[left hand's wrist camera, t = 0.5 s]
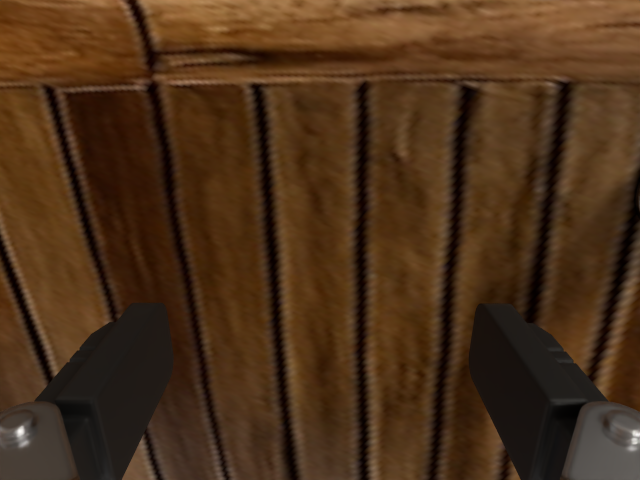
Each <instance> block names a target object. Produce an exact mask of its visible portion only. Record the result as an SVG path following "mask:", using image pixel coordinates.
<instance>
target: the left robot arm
mask: <svg viewBox="0 0 640 480" xmlns="http://www.w3.org/2000/svg"><path fill="white" fill-rule="evenodd" d="M635 202H636V210H637V213H638V216H639V218H640V182H639V184H638V187H637V191H636V199H635ZM469 368H470V374H471V377H472V380H473V382H474V384H475V386H476V388H477V390H478V392H479V394H480V396H481V398H482V401H483V403H484V405H485V407H486V409H487V411H488V413H489V415H490V417H491V419H492V421H493V423H494V425H495V427H496V429H497V431H498V433H499V436H500V438H501V440H502V442H503V444H504V446H505V448H506V450H507V452H508V454H509V456H510V458H511V460H512V462H513V464H514V466H515V469H516V471H517V473H518V475H519V477H520V479H521V480H640V412H638V411H636V410H634V409H632V408H629V407H627V406H624V405H621V404H617V403H613V402H609V401H608V400H607V399H606V398H605V397H604V395H603V394H602V393H601V392H600V391H599V390H598V389H597V387H596V386H595V385H594V384H593V383H592V382H591V380H590V379H589V378H588V377H587V376H586V375H585V373H584V372H583V371H582V370H581V369H580V368H579V366H578V365H577V364H576V363H573V359H572V358H571V357H570V356H569V355H568V354H567V352H564V351H563V348H562V347H561V345H560V344H559V343H558V342H557V341H556V340H555V338H554V337H553V336H552V335H551V334H549V333H548V332H546V331H544V330H543V329H541V328H540V327H538V326H537V325H535V324H534V323H526V322H525V321H524V319H523V318H522V317H521V316H520V314H519V313H518V312H517V311H516V309H515V308H514V307H513V306H512V305H511V304H479V305H478V306H477V308H476V312H475V319H474V325H473V332H472V338H471V345H470V352H469ZM172 369H173V349H172V342H171V336H170V329H169V322H168V316H167V310H166V307H165V305H164V304H163V303H132V304H131V305H130V306H129V307H128V308H127V309H126V311H125V312H124V313H123V314H122V316H121V317H120V318H119V319H118V321H117V322H109V323H108V324H106V325H105V326H103V327H102V328H100V329H99V330H97V331H95V332H94V333H92V334H91V335H90V336H89V337H88V339H87V340H86V341H85V342H84V343H83V344H82V346H81V347H80V350H79V351H77V352H76V353H75V354H74V355H73V356H72V357H71V359H70V362H67V363H66V364H65V366H64V367H63V368H62V369H61V370H60V371H59V373H58V374H57V375H56V376H55V377H54V379H53V380H52V381H51V382H50V383H49V384H48V386H47V387H46V388H45V389H44V390H43V391H42V393H41V394H40V395H39V396H38V397H37V398H36V400H35V401H34V402H27V403H23V404H19V405H16V406H13V407H11V408H8V409H6V410H4V411H2V412H0V480H122V478H123V476H124V473H125V471H126V469H127V467H128V465H129V463H130V461H131V459H132V457H133V455H134V453H135V451H136V448H137V446H138V444H139V442H140V440H141V438H142V436H143V434H144V432H145V430H146V428H147V425H148V423H149V421H150V419H151V417H152V415H153V413H154V411H155V409H156V407H157V405H158V403H159V400H160V398H161V396H162V394H163V392H164V390H165V388H166V386H167V384H168V382H169V380H170V377H171V374H172Z"/></svg>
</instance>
